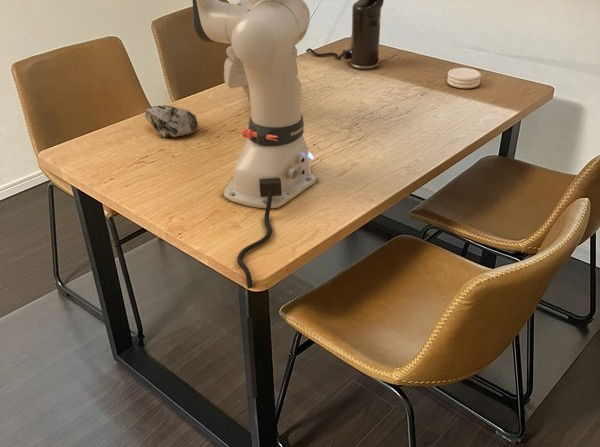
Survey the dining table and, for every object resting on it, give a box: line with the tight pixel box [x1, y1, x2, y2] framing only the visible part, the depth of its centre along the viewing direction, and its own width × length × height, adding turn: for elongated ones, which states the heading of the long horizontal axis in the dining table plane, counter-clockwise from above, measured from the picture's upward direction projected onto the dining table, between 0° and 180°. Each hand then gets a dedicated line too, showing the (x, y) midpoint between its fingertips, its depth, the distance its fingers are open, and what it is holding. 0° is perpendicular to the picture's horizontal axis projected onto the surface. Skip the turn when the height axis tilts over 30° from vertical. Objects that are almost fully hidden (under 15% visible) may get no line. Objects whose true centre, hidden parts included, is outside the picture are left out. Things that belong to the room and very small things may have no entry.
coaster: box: [446, 67, 482, 89], centre depth 192 cm, size 10×10×4 cm
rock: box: [144, 104, 199, 138], centre depth 165 cm, size 15×10×7 cm
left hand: (262, 98), depth 171 cm, fingers closed on bar, 6 cm apart
